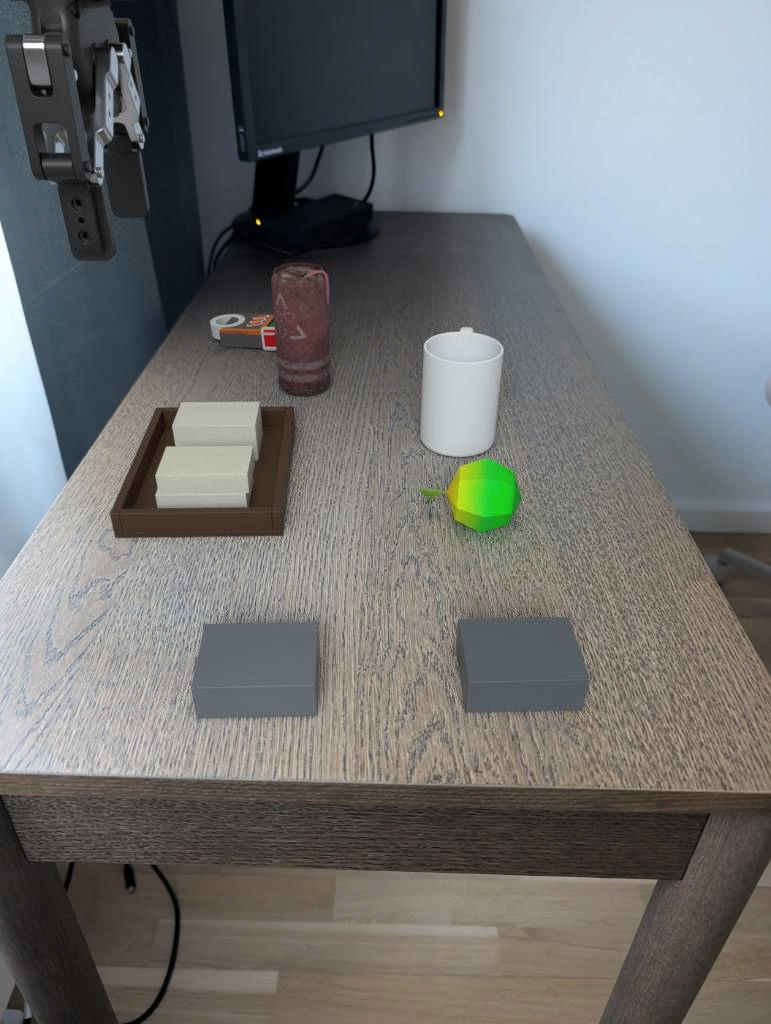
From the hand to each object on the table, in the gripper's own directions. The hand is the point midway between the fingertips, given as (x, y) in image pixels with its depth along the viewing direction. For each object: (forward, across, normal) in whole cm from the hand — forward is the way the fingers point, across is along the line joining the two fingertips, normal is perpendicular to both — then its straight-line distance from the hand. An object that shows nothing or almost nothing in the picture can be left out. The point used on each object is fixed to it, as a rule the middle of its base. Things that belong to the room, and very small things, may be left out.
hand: (115, 236), depth 45 cm
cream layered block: (+28, -14, 0) cm, 31 cm away
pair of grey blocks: (+28, +9, +16) cm, 34 cm away
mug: (+28, -27, +25) cm, 46 cm away
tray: (+28, -18, 0) cm, 33 cm away
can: (+28, -38, +8) cm, 48 cm away
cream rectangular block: (+28, -22, 0) cm, 36 cm away
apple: (+28, -10, +24) cm, 38 cm away
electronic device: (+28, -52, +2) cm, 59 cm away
